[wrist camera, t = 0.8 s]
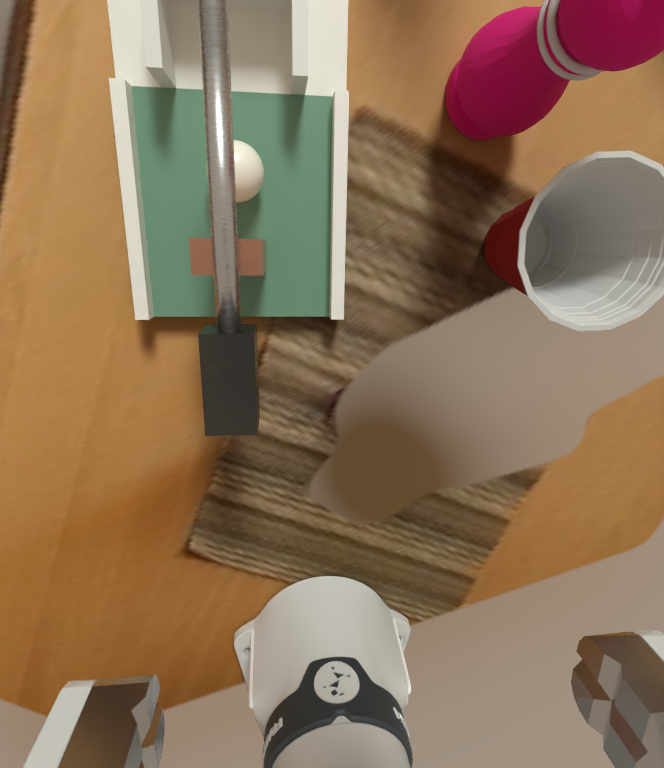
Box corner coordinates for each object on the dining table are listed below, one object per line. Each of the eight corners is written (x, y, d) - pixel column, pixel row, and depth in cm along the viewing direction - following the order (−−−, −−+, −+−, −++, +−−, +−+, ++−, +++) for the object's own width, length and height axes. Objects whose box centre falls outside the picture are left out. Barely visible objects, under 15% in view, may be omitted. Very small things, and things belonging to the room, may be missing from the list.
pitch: (338, 313, 40) (348, 324, 34) (146, 313, 38) (125, 325, 33) (345, 8, 33) (357, -36, 28) (112, -9, 31) (80, -59, 26)
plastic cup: (503, 147, 37) (603, 106, 26) (597, 222, 40) (725, 215, 28) (427, 265, 39) (488, 275, 28) (521, 329, 42) (612, 362, 31)
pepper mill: (473, 167, 37) (674, 91, 18) (420, 88, 35) (585, -90, 16) (544, 102, 37) (832, -46, 18) (494, 18, 34) (761, -256, 15)
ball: (265, 205, 35) (264, 200, 31) (211, 203, 35) (203, 199, 31) (264, 147, 34) (262, 135, 30) (208, 144, 33) (199, 132, 30)
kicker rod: (269, 377, 38) (265, 434, 27) (220, 378, 38) (196, 436, 27) (261, 61, 32) (252, -37, 20) (202, 57, 31) (159, -45, 20)
